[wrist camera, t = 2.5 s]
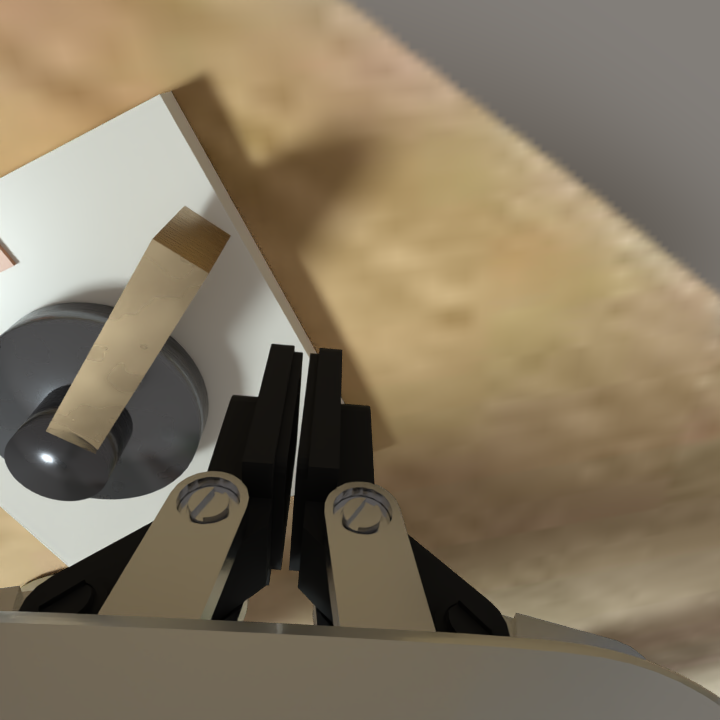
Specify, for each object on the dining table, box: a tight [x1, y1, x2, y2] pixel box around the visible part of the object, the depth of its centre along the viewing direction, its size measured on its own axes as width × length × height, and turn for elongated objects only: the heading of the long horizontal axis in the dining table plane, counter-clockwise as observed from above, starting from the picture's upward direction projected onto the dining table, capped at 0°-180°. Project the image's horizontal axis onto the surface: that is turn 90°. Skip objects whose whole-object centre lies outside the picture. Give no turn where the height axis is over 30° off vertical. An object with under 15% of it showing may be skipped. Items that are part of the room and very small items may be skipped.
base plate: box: [0, 91, 345, 567], centre depth 26 cm, size 20×20×2 cm
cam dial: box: [0, 206, 231, 501], centre depth 22 cm, size 16×10×5 cm, turn 143°
